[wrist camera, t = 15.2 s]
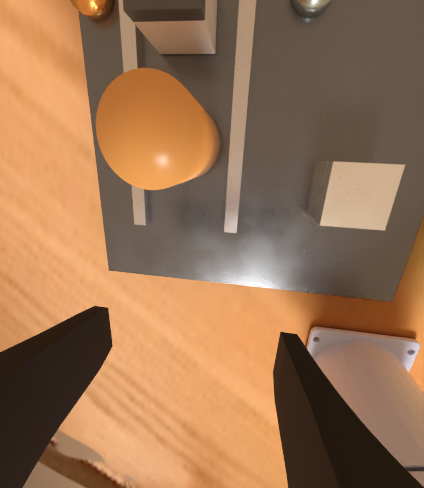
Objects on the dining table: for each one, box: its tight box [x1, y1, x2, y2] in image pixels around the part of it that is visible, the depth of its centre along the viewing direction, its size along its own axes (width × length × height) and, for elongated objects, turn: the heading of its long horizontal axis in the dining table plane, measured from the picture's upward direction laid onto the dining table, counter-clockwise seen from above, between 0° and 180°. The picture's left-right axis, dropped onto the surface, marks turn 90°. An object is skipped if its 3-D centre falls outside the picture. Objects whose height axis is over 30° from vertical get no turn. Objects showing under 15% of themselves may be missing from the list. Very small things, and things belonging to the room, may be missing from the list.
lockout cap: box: [96, 68, 221, 190], centre depth 11 cm, size 4×4×6 cm
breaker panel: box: [70, 0, 424, 302], centre depth 13 cm, size 20×20×5 cm
